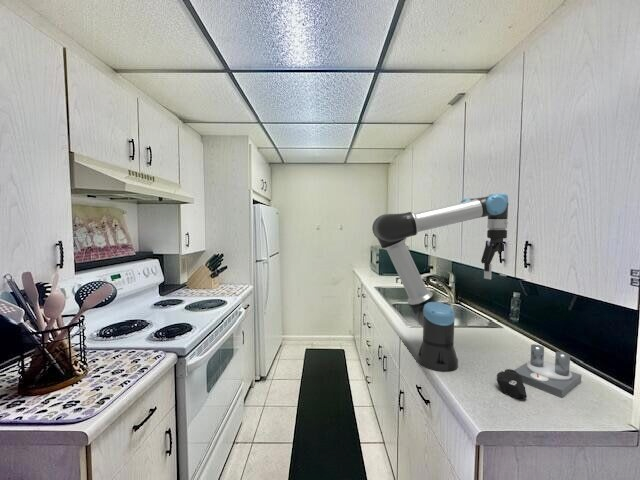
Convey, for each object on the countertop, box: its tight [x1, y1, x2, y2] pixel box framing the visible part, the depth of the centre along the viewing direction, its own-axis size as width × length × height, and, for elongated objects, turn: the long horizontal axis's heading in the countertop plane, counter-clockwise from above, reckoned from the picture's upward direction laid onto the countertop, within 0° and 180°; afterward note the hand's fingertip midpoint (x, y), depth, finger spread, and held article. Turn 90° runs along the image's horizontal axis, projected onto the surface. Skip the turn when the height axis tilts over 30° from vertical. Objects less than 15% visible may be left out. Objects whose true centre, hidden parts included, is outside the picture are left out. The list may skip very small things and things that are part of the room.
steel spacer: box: [554, 351, 571, 376], centre depth 106 cm, size 4×4×7 cm
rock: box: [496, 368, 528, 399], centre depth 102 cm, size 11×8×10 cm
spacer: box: [529, 343, 545, 367], centre depth 112 cm, size 4×4×7 cm
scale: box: [514, 360, 582, 399], centre depth 108 cm, size 18×15×4 cm
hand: (495, 277), depth 133 cm, fingers open, 13 cm apart
